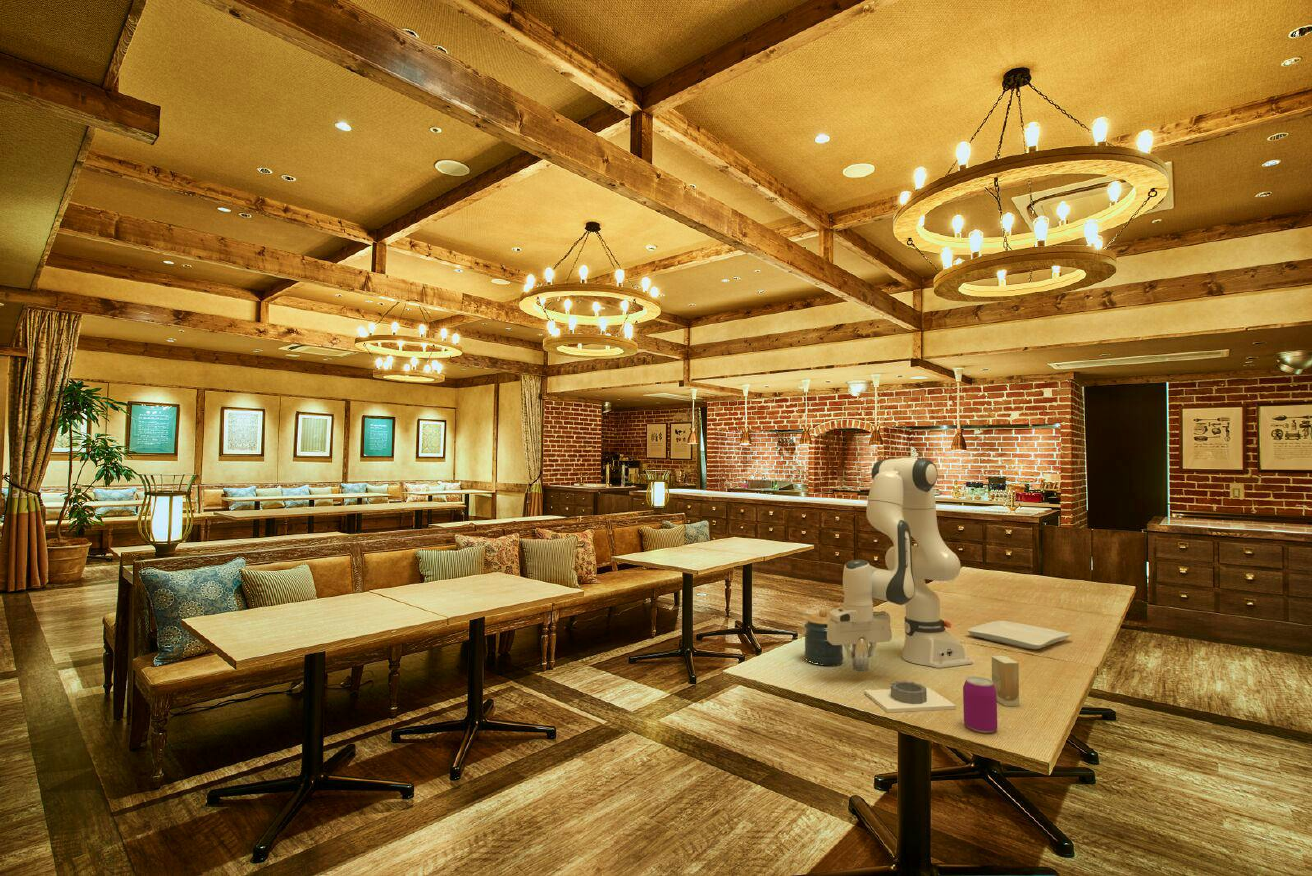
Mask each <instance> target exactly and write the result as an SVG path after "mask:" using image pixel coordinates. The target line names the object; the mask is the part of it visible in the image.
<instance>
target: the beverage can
mask: <svg viewBox="0 0 1312 876" xmlns="http://www.w3.org/2000/svg"><path fill="white" fill-rule="evenodd" d="M962 703H963V706H962V707H963V722H964V725H965V726H966V727H967V728H968V729H970V730H972V731H973V732H976V733H980V734H991V733H995V731H997V729H998V701H997V691H996V689H995V687H994V684H993V682H992V679H989V678H986V677H981V676H976V675H975V676H967V677H966V678H965V681H964V683H963V686H962Z"/></svg>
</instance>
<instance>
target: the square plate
mask: <svg viewBox="0 0 1312 876" xmlns="http://www.w3.org/2000/svg"><path fill="white" fill-rule="evenodd" d="M966 632H968V633H969V634H970V635H971V636H974V637H975V638H976V637H977V638H980V639H983V638H984V639H983V640H986V641H987V640H988V641H991V642H995V643H1000V644H1005V645H1009V646H1013V647H1016V648H1017V647H1018V648H1021V649H1022V648H1023V649H1028V650H1039V649H1042V647H1043V648H1045V647H1048V646H1050V645H1053V644H1056V643H1059V642H1062V641H1064V640H1067V639H1068V638H1069V637H1071V636H1072V634H1071V633H1069V632H1064V631H1060V630H1054V629H1052V628H1051V629H1050V628H1044V627H1041V626H1036V625H1031V624H1025V623H1019V622H1013V621H1006V620H996V621H989V622H987V623H981V624H978V625H975V626H973V627H969V628H967V629H966Z"/></svg>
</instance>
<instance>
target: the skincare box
mask: <svg viewBox="0 0 1312 876" xmlns="http://www.w3.org/2000/svg"><path fill="white" fill-rule="evenodd" d="M1019 664H1020V663H1019V662H1018V661H1015V660H1014V659H1013V658H1010V657H1008V656H1006V655H991V681H992V682H993V684H994V687H995V689H996V691H997V703H1000V704H1001V705H1003V706H1004V707H1018V706H1020V675H1019V673H1020V669H1019V666H1020V665H1019Z"/></svg>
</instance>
